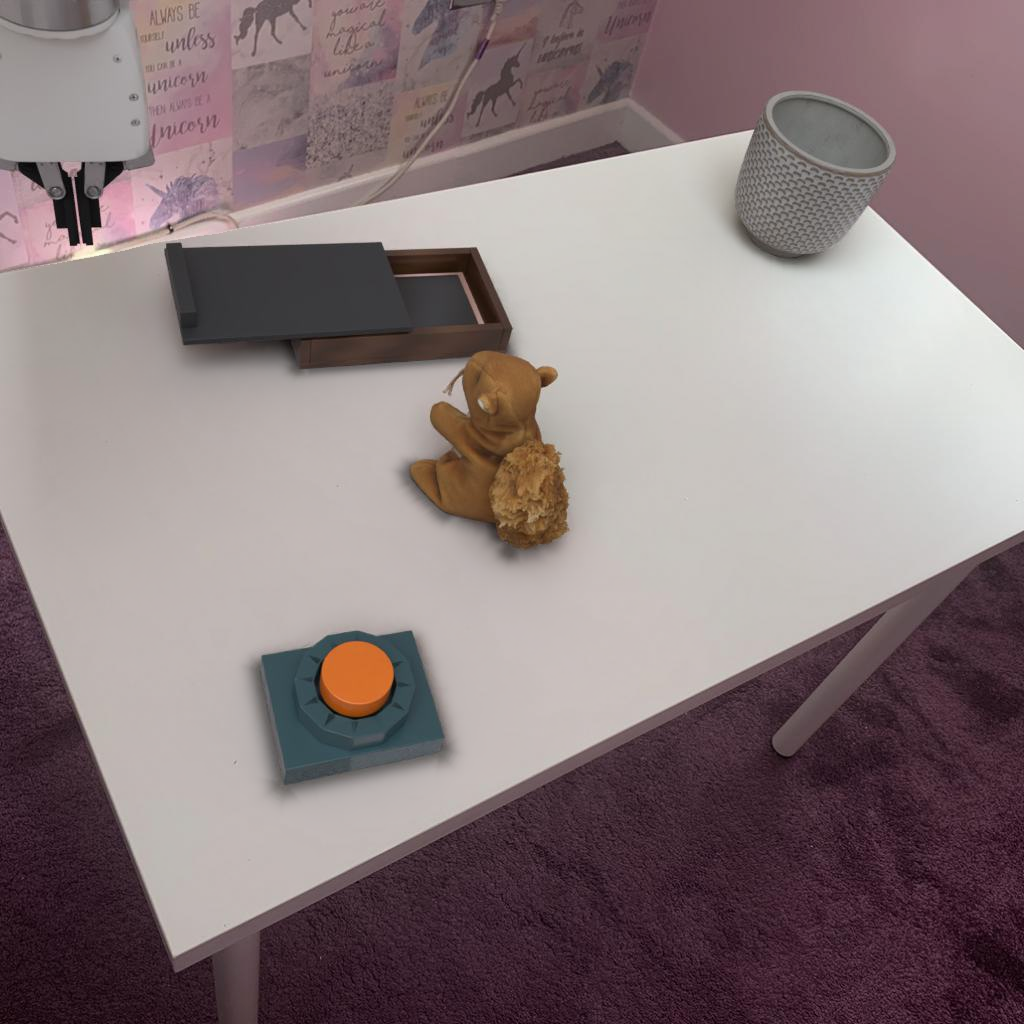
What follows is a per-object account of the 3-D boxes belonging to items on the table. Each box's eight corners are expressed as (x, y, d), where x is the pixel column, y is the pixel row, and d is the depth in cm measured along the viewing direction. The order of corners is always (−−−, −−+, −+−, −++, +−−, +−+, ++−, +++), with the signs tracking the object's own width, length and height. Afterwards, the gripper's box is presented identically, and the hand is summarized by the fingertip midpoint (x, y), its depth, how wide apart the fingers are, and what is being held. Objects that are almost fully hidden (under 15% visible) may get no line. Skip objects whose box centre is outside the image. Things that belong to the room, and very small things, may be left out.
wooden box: (298, 369, 86) (301, 341, 84) (274, 281, 92) (275, 253, 89) (505, 354, 93) (513, 328, 90) (470, 273, 98) (476, 246, 96)
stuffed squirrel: (500, 422, 87) (538, 301, 77) (596, 550, 81) (651, 438, 71) (394, 456, 83) (420, 333, 72) (488, 595, 77) (530, 482, 66)
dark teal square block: (283, 785, 65) (287, 757, 62) (259, 671, 69) (262, 640, 66) (439, 752, 68) (450, 724, 65) (407, 646, 73) (416, 615, 69)
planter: (689, 211, 112) (735, 101, 102) (775, 185, 119) (826, 80, 109) (778, 294, 107) (836, 186, 97) (862, 261, 114) (925, 157, 104)
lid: (183, 346, 80) (182, 324, 78) (164, 253, 86) (163, 231, 84) (412, 331, 87) (416, 311, 85) (380, 247, 92) (384, 226, 91)
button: (327, 723, 64) (330, 710, 63) (312, 661, 66) (314, 646, 65) (398, 710, 65) (401, 696, 64) (380, 649, 68) (384, 635, 66)
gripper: (172, -44, 66) (180, 198, 81) (-97, -60, 61) (-38, 202, 75) (190, 22, 62) (195, 264, 77) (-96, 10, 57) (-34, 273, 71)
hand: (79, 232), depth 76 cm, fingers closed
